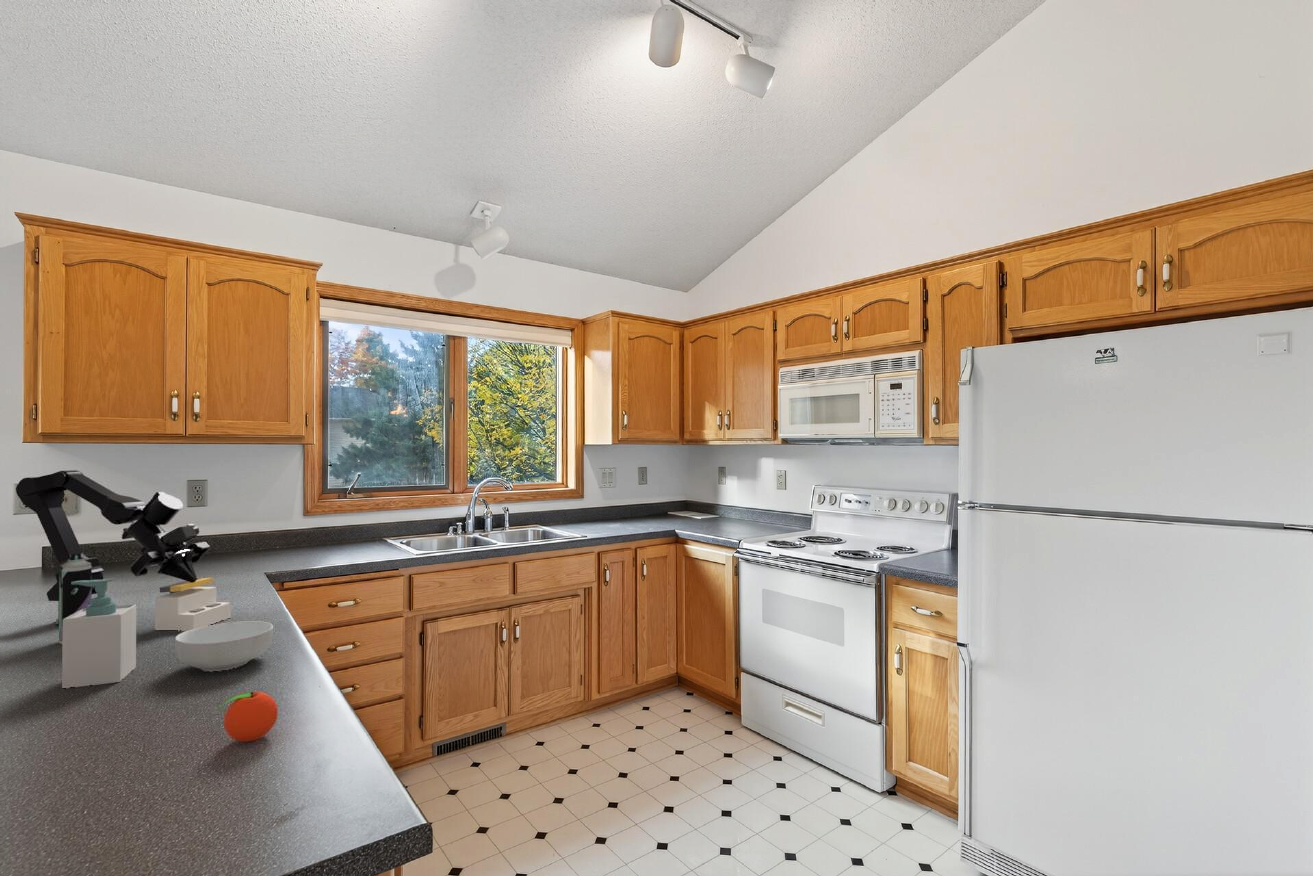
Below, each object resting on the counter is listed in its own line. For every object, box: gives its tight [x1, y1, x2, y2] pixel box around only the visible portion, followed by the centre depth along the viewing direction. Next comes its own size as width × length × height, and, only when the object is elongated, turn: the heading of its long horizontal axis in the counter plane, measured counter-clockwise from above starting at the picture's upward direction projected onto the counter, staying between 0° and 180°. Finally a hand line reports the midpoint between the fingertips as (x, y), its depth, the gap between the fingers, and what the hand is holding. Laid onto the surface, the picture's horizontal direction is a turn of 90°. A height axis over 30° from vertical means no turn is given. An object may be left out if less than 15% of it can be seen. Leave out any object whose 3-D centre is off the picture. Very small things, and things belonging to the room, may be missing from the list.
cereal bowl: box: [174, 620, 274, 673], centre depth 130 cm, size 17×17×7 cm
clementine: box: [215, 691, 279, 743], centre depth 96 cm, size 8×7×7 cm
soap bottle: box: [61, 577, 137, 689], centre depth 123 cm, size 9×9×19 cm
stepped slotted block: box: [154, 586, 232, 632], centre depth 160 cm, size 10×12×8 cm
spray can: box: [58, 554, 92, 645], centre depth 146 cm, size 6×6×20 cm
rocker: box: [159, 577, 214, 594], centre depth 160 cm, size 6×10×2 cm, turn 175°
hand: (194, 581), depth 160 cm, fingers closed, pressing on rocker
